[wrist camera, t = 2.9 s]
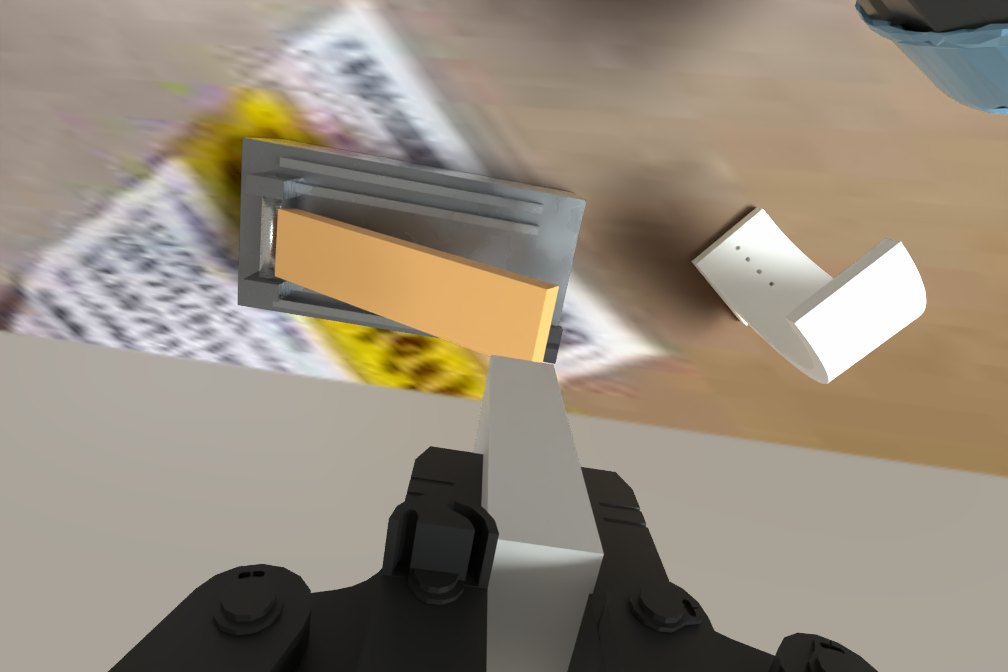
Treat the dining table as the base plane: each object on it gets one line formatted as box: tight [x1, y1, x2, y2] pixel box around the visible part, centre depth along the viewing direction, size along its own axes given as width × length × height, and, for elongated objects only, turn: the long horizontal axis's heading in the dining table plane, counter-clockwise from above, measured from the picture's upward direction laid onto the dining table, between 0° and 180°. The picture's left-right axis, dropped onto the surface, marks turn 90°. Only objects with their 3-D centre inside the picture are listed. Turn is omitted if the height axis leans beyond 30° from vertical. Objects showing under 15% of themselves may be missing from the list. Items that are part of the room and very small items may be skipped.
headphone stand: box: [691, 207, 926, 384], centre depth 27 cm, size 5×6×12 cm
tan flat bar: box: [275, 209, 559, 363], centre depth 22 cm, size 13×3×1 cm, turn 81°
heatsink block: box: [238, 137, 586, 364], centre depth 28 cm, size 16×8×8 cm, turn 80°
